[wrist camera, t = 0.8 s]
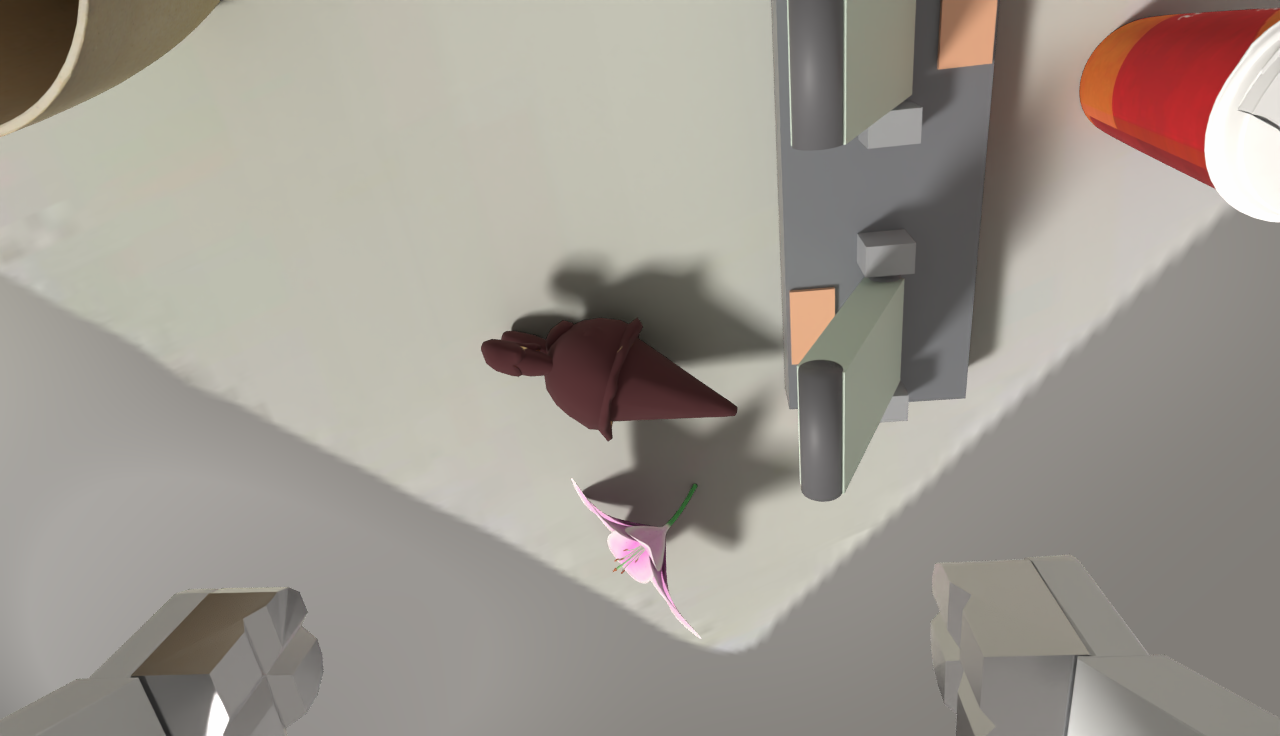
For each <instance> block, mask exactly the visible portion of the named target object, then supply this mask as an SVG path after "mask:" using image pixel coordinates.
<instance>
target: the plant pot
mask: <svg viewBox="0 0 1280 736" xmlns="http://www.w3.org/2000/svg"><path fill="white" fill-rule="evenodd" d="M220 1H221V0H0V137H2V136H5V135H7V134H10V133H12V132H15V131H17V130H20V129H22V128H25V127H27V126H30V125H32V124H35V123H37V122H40V121H42V120H44V119H47V118H49V117H51V116H53V115H56V114H58V113H60V112H63V111H65V110H67V109H69V108H72V107H74V106H76V105H78V104H80V103H82V102H84V101H87V100H89V99H91V98H93V97H95V96H97V95H99V94H101V93H103V92H105V91H107V90H109V89H110V88H112V87H114V86H116V85H118V84H120V83H122V82H123V81H125V80H126V79H128V78H130V77H131V76H133V75H135V74H136V73H138V72H139V71H141V70H143V69H144V68H146V67H147V66H149V65H150V64H152V63H153V62H155V61H156V60H158V59H159V58H160V57H162V56H163V55H164V54H166V53H167V52H168V51H170V50H171V49H172V48H174V47H175V46H176V45H177V44H178V43H180V42H181V41H182V40H183V39H184V38H186V37H187V36H188V35H189V34H190V33H191V32H192V31H193V30H194V29H195V28H196V27H197V26H198V25H199V24H200V23H201V22H202V21H203V20H204V19H205V18H206V17H207V16H208V15H209V14H210V13H211V11H212V10H213V9H214V8H215V7H216V6H217V5H218V3H219V2H220Z"/></svg>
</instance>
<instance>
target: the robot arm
mask: <svg viewBox="0 0 1280 736" xmlns="http://www.w3.org/2000/svg"><path fill="white" fill-rule="evenodd" d="M932 593H933V595H934V598H935V600H936V603H937V605H938V608H939V611H940V612H939V613H938V614H937V615H936V616H935V617H934V618H933V620H932V621H931V651H932V659H933V668H934V672H935V676H936V680H937V684H938V687H939V691H940V693H941V696H942V699H943V702H944V704H945V705H946V706H947V707H948V708H950V709H951V710H952V711H953V712H955V713H956V714H957V719H956V736H1280V718H1279V717H1277V716H1275V715H1273V714H1271V713H1269V712H1268V711H1266V710H1264V709H1262V708H1260V707H1259V706H1257V705H1255V704H1253V703H1251V702H1249V701H1248V700H1246V699H1244V698H1242V697H1240V696H1238V695H1237V694H1235V693H1233V692H1231V691H1229V690H1228V689H1226V688H1223V687H1222V686H1220V685H1218V684H1216V683H1215V682H1213V681H1211V680H1209V679H1207V678H1206V677H1204V676H1202V675H1200V674H1198V673H1196V672H1194V671H1193V670H1191V669H1189V668H1187V667H1186V666H1184V665H1182V664H1180V663H1178V662H1176V661H1175V660H1173V659H1171V658H1169V657H1167V656H1166V655H1149V654H1148V652H1147V651H1146V650H1145V648H1144V647H1143V646H1142V645H1141V643H1140V642H1139V640H1138V639H1137V638H1136V636H1135V635H1134V634H1133V632H1132V631H1131V630H1130V628H1129V627H1128V626H1127V625H1126V623H1125V622H1124V620H1123V619H1122V618H1121V616H1120V615H1119V614H1118V612H1117V611H1116V609H1115V608H1114V607H1113V606H1112V604H1111V603H1110V601H1109V600H1108V599H1107V598H1106V596H1105V595H1104V594H1103V592H1102V591H1101V589H1100V588H1099V587H1098V585H1097V584H1096V583H1095V581H1094V580H1093V579H1092V577H1091V576H1090V575H1089V573H1088V572H1087V571H1086V569H1085V568H1084V566H1083V565H1082V564H1081V563H1080V561H1079V560H1078V559H1076V558H1075V557H1073V556H1071V555H1058V556H1043V557H1029V558H1024V559H1019V560H994V561H971V562H947V563H935V566H934V570H933V578H932ZM307 613H308V611H307V609H306V606H305V604H304V602H303V599H302V597H301V594H300V592H298V591H296V590H294V589H292V588H289V587H266V588H221V589H188V590H185V591H182V592H179V593H176V594H174V595H173V596H172V597H171V599H169V600H168V601H167V602H166V603H165V604H164V605H163V606H162V607H161V608H160V609H159V610H158V611H157V612H156V613H155V614H154V615H153V616H152V617H151V618H150V619H149V620H148V621H147V622H146V623H145V624H144V625H143V626H142V627H141V628H140V629H139V630H138V631H137V632H136V633H134V635H132V636H131V638H129V639H128V640H127V641H126V642H125V643H124V644H123V645H122V646H121V647H120V648H119V649H118V650H117V651H116V652H115V653H114V654H113V655H112V656H111V657H110V658H109V659H108V660H107V661H106V662H105V663H104V664H103V665H102V666H101V667H100V668H99V669H98V670H97V671H96V672H95V673H94V674H92V676H90V678H88V679H76V680H74V681H72V682H70V683H69V684H67V685H65V686H63V687H61V688H59V689H57V690H55V691H53V692H52V693H50V694H48V695H46V696H44V697H42V698H40V699H38V700H37V701H35V702H33V703H31V704H29V705H27V706H25V707H23V708H22V709H20V710H18V711H16V712H14V713H12V714H10V715H8V716H7V717H5V718H3V719H1V720H0V736H287V730H286V728H287V727H289V726H290V725H291V724H293V723H294V722H296V721H297V720H298V719H300V718H301V717H302V716H304V715H305V714H307V712H308V710H309V709H310V707H311V705H312V704H313V702H314V700H315V698H316V697H317V695H318V692H319V687H320V684H321V680H322V675H323V657H322V652H321V649H320V646H319V643H318V640H317V638H316V637H314V636H313V635H312V634H311V633H310V632H309V631H307V630H306V629H305V628H304V627H303V626H302V624H303V622H304V620H305V617H306V615H307Z"/></svg>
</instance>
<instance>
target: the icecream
mask: <svg viewBox="0 0 1280 736" xmlns="http://www.w3.org/2000/svg"><path fill="white" fill-rule="evenodd" d="M642 328H643V326H642V324H641V322H640V320H639V319H638V318H636V319H635V320H633V321H632V322H631V323H629V324H627V323H625V322H624V321H622V320H615V319H607V318H595V319H590V320H584V321H581V322H579V323H576V324H573V323H571V322H568V321H564V320H563V321H561V322H560V323H559V324H557V325H556V326H555V327H553V328H552V329H551V330H550V332H549V334H548V336H547V338H546V339H543V338H541V337H538V336H536V335H532V334H527V333H522V332H517V331H506V332H504V333H503V335H502V338H501V340H497V339H491V340H488V341H485V342H483V344H482V346H481V351H482V353H483V356H484V358H485V361H486V363H487V364H488V365H489V366H490V367H492V368H493V369H494V370H496V371H498V372H502V373H505V374H508V375H511V376H518V377H519V376H521V375H526V376H542V375H544V376H545V382H546V388H547V391H548V392H549V394H550V396H551V397H552V399H553V400H554V402H555V403H556V405H557V406H558V407H560V408H561V409H562V410H563V411H564V412H565V413H566V414H567V415H569V416H570V417H572V418H573V419H575V420H576V421H578V422H579V423H581V424H582V425H584V426H585V427H587V428H588V429H596V430H599V431H600V432H601V434H602V435H603V436H604V437H605V438H606V440H607V441H610V440H611V439H612V438H613V437H612V424H613V421H632V420H655V419H678V418H702V417H727V416H735V415H736V413H737V406H735V405H734V404H733V403H731V402H730V401H729V400H727V399H726V398H724V397H723V396H721V395H720V394H718V393H717V392H715V391H714V390H712V389H711V388H709V387H708V386H706V385H705V384H703V383H702V382H701V381H699V380H698V379H696V378H695V377H693V376H692V375H690V374H689V373H688V372H686V371H685V370H683V369H682V368H680V367H679V366H678V365H676V364H675V363H673V362H672V361H670V360H669V359H667V358H666V357H665V356H663V355H662V354H660V353H659V352H657V351H656V350H655V349H653V348H652V347H650V346H649V345H647V344H646V343H644V342H643V341H642V340H640V339H639V333H640V332H641V330H642Z"/></svg>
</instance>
